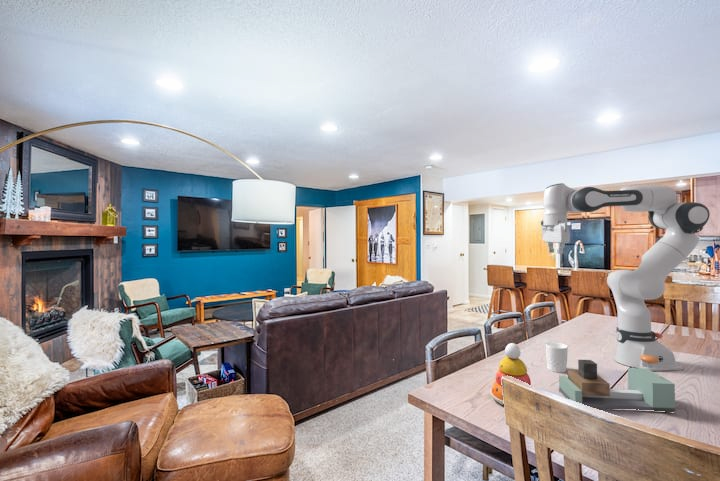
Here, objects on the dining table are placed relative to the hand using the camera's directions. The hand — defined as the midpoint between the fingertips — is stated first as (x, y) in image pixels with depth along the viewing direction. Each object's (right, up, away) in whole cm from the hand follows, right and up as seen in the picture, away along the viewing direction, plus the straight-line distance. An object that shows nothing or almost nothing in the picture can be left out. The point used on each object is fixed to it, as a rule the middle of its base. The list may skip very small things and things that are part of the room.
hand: (555, 253), depth 146 cm
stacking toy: (-34, -49, -33) cm, 68 cm away
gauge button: (+9, -36, -37) cm, 52 cm away
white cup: (-5, -48, -9) cm, 49 cm away
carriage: (-9, -44, -34) cm, 56 cm away
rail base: (-2, -48, -35) cm, 59 cm away
